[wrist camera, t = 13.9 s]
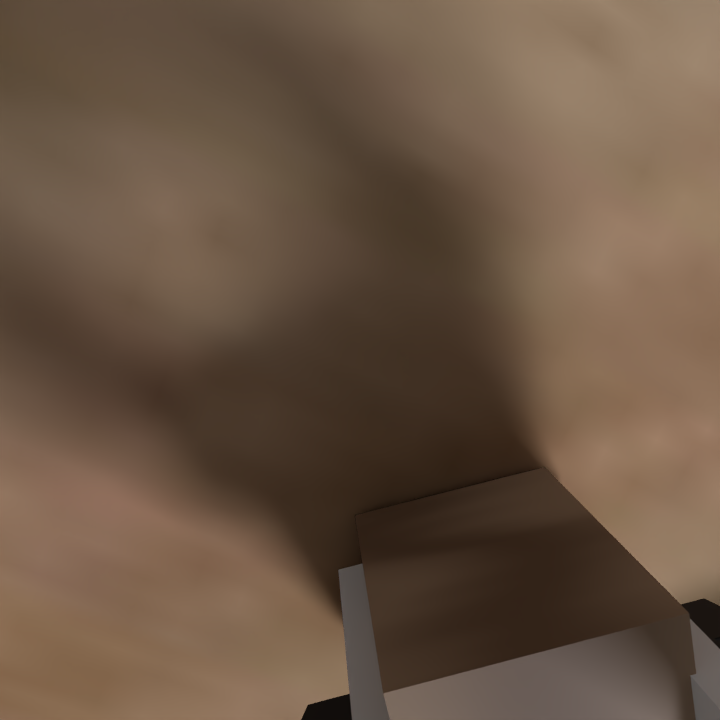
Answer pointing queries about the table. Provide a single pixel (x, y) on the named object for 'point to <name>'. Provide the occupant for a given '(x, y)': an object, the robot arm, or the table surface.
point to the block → (519, 611)
